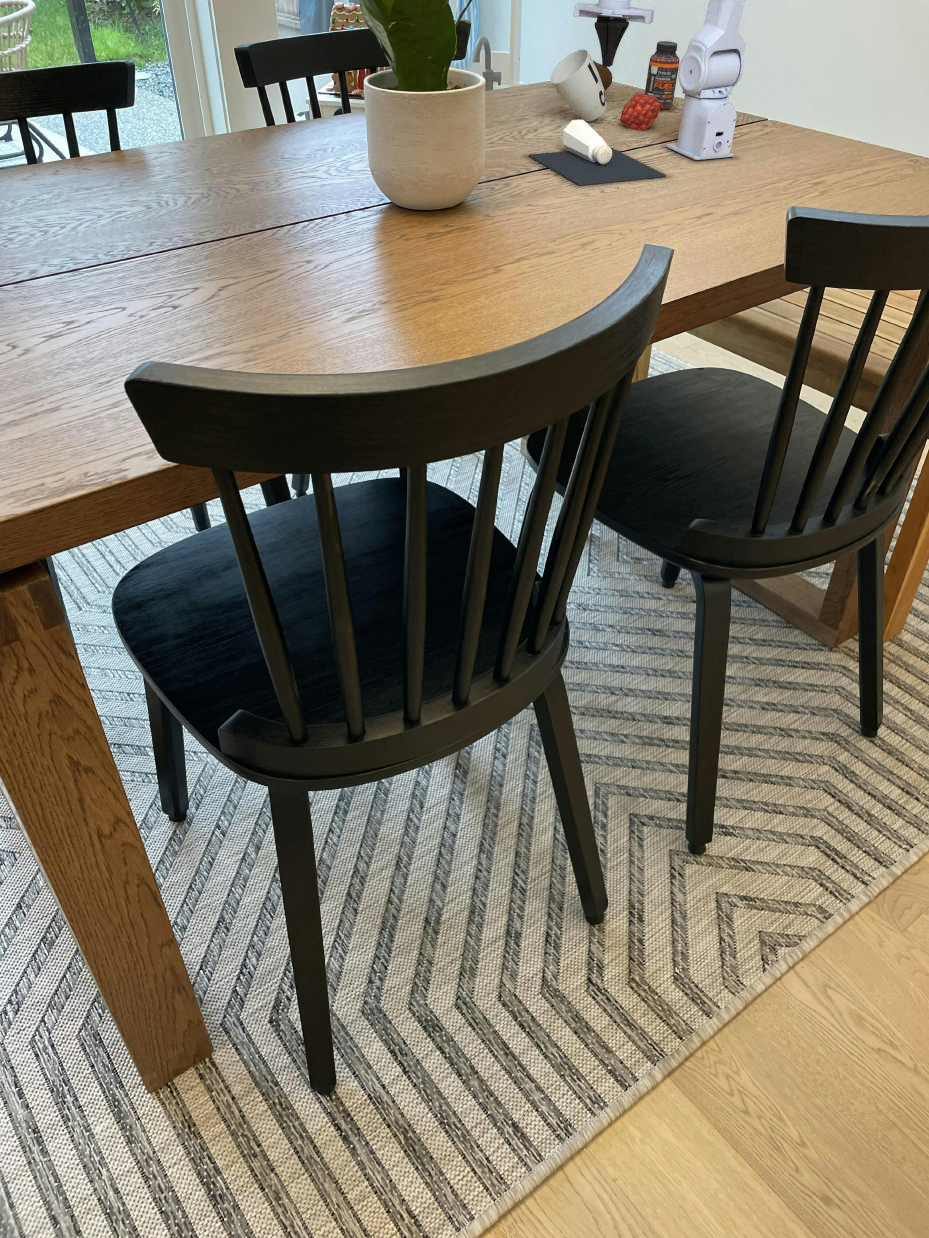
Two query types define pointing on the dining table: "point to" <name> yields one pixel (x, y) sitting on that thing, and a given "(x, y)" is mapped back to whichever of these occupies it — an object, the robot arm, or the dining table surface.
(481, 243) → the dining table surface
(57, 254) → the dining table surface
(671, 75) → the supplement bottle
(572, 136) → the salt shaker
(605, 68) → the potato
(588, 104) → the cup
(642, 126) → the decorative stone
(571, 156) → the mat
